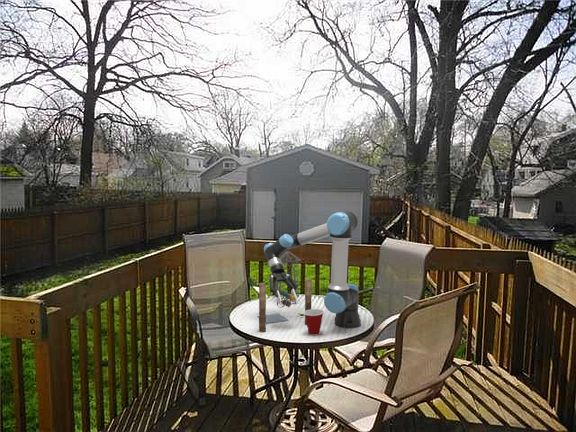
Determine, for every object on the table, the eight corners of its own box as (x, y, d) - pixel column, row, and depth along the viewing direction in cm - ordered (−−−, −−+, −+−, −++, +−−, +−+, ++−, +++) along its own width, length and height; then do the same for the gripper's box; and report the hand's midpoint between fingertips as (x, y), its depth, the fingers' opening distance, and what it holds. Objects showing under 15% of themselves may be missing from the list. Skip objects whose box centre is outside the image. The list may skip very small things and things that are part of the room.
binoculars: (288, 312, 242) (297, 296, 244) (276, 305, 238) (285, 288, 240) (280, 308, 250) (289, 292, 252) (268, 301, 247) (277, 285, 248)
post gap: (312, 324, 252) (312, 279, 250) (260, 332, 239) (260, 284, 237) (309, 323, 255) (309, 278, 254) (258, 330, 242) (258, 283, 240)
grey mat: (288, 320, 260) (288, 319, 260) (266, 323, 254) (266, 322, 254) (278, 314, 273) (278, 313, 273) (257, 317, 267) (257, 316, 267)
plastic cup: (302, 330, 243) (302, 308, 242) (322, 329, 244) (322, 308, 243) (304, 336, 232) (304, 314, 231) (325, 336, 233) (325, 314, 232)
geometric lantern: (279, 306, 291) (278, 253, 289) (274, 300, 306) (273, 250, 304) (302, 304, 294) (302, 252, 293) (296, 299, 310) (295, 249, 308)
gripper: (291, 269, 264) (303, 302, 251) (257, 272, 254) (268, 306, 241) (295, 262, 259) (307, 295, 245) (260, 264, 249) (272, 299, 236)
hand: (288, 301), depth 243 cm, fingers closed on binoculars, 9 cm apart
